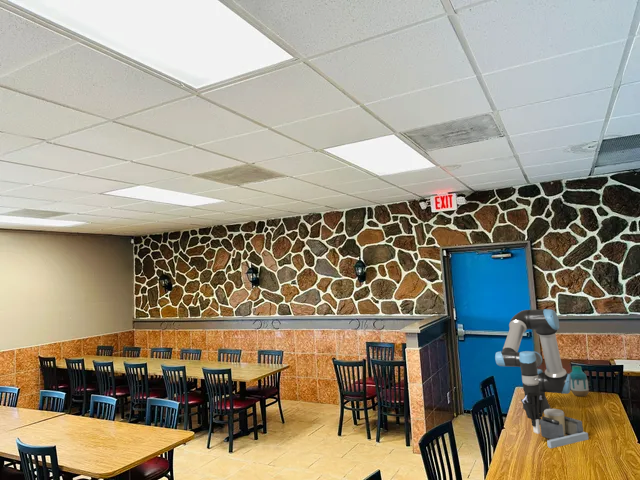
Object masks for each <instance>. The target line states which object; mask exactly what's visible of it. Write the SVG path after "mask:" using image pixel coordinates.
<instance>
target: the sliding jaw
mask: <svg viewBox="0 0 640 480" xmlns="http://www.w3.org/2000/svg"><path fill="white" fill-rule="evenodd" d="M539 426H540V434H541V437H543V438H546V439H548V440H551V439H555V438H560V437H564V432H563V426H562V424H560V423H559V421H557V420H554V419H550V418H547V417H545V415H544V416H543V417H541V419H540V425H539Z"/></svg>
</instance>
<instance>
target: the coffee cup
mask: <svg viewBox="0 0 640 480" xmlns="http://www.w3.org/2000/svg"><path fill="white" fill-rule="evenodd" d="M543 415H544V417H547V418H550V419H554V420H557V421H559V423H560V424H562V426H563V432H564V436H566V434H565V420H564V416H565V412H564V411H563V410H562V409H558V408H550V409H546V410H544V412H543Z"/></svg>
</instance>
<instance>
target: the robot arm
mask: <svg viewBox="0 0 640 480" xmlns="http://www.w3.org/2000/svg"><path fill="white" fill-rule="evenodd" d="M508 327H509V330H508V333H507V336H506V339H505V341H504V344H503V347H502V350H500V351H497V352H495V354H494V355H495V356H494V359H495V363H496V365H497V366H499V367H508V368H509V367H510V368H511V367H514V368H516V367H517V368H520V371H521V381H522V389H523V393H524V398H523V399H521V400H520V402H521V403H522V409H524V411H525V414H526V417H527V419H529V420H531V421H530V422H531V427H532V428H533V430H532V431H533V433H535V434H537V435H538V434H541V427H540V419H542V417H543V415H544V410H546V409H551V405H550V404H549V401H548V399H547V397H546V393H551V394H560V395H563V394H566V395H567V394H569V393H570V392H571V376H570V373H567V370H566V369H565V368H563V363H562V359H561V354H560V350H559V345H558V344H559V343H558V341H557V335H556V334H557V333H558V330H559V329H560V321H559V316H558V314H557V312H556V311H555V310H554V309H549V308H548V309H547V308H544V309H524V310H521V311H519V312H517V313H516V314H515V315H514V316H512V318H511V319H510V321H509V324H508ZM527 330H535V331H534V332H535V333H536V335H538V336H539V341H540V345H541V348H542V354H543V356H542V354H540V353H539V352H538V351H530V350H525V351H520V352H519V349H520V346H521V342H522V339H523V336H524V333H525V332H526V331H527ZM543 359H544V363H545V367H546V369H544V372H543V370H542V369H540V368H539V367H540V366H541V365H542V363H543Z"/></svg>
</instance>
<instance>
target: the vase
mask: <svg viewBox="0 0 640 480" xmlns="http://www.w3.org/2000/svg"><path fill="white" fill-rule="evenodd" d="M571 369H572V371H571V372H569V374H570V376H571V389H570V392H571V393H572V394H573V395H574V396H577V397H585V396H587V395H588V394H589V393H590V391H589V390H590V389H589V381H588V377H587V376H588V375H587V374H586V373H585V372H584V371H583V370H582V366H581V365H572V366H571Z"/></svg>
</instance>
